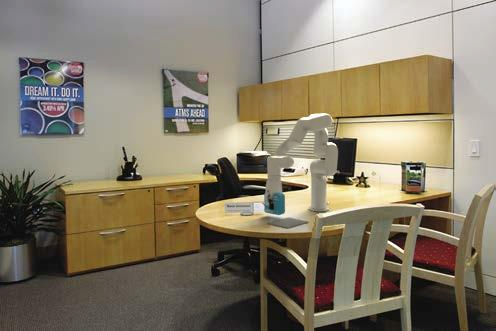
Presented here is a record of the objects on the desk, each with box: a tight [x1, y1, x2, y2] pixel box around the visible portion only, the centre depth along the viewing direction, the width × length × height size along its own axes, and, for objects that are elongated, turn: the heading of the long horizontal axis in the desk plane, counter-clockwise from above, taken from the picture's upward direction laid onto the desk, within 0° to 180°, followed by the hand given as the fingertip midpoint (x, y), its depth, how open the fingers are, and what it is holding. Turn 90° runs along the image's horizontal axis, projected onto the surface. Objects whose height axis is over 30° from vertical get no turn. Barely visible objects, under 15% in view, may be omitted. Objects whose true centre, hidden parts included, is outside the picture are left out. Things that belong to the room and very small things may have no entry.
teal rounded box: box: [263, 192, 286, 216], centre depth 228 cm, size 12×4×12 cm, turn 47°
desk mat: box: [267, 217, 309, 229], centre depth 214 cm, size 18×14×1 cm
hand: (274, 208), depth 228 cm, fingers closed on teal rounded box, 4 cm apart
